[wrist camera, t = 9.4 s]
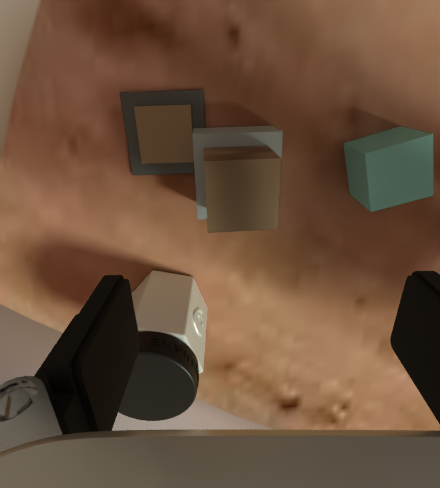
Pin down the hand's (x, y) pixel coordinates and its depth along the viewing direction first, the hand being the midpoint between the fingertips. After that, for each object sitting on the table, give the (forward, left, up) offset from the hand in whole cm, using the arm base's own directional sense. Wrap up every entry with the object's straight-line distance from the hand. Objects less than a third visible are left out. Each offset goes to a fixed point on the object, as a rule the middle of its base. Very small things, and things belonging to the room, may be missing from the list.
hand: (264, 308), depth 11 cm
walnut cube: (0, 0, -17) cm, 17 cm away
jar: (+8, +15, -21) cm, 27 cm away
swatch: (+6, -3, -21) cm, 22 cm away
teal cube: (-13, 0, -21) cm, 25 cm away
